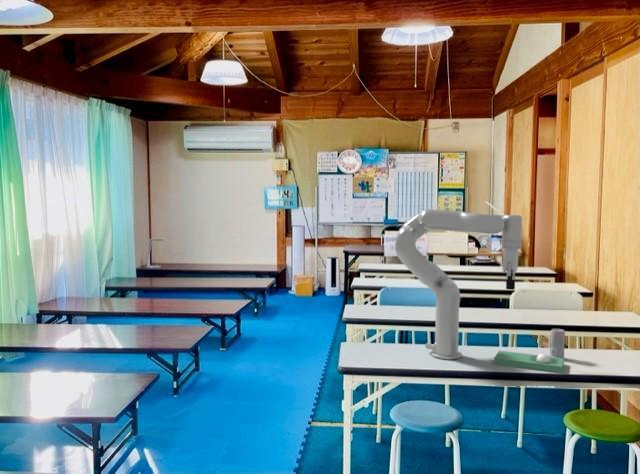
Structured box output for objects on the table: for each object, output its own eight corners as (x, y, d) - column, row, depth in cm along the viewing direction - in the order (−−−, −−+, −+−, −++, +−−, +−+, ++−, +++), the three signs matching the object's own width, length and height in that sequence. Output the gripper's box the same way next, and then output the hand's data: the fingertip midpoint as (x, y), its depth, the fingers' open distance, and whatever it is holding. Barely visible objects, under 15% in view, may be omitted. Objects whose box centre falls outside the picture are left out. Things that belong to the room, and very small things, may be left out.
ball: (552, 367, 214) (540, 370, 217) (552, 359, 218) (540, 362, 221) (546, 356, 213) (534, 360, 216) (546, 349, 217) (534, 353, 220)
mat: (494, 364, 220) (494, 357, 220) (498, 356, 231) (499, 350, 231) (561, 373, 209) (562, 366, 209) (563, 364, 220) (563, 358, 220)
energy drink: (560, 356, 231) (561, 328, 230) (566, 360, 226) (567, 331, 225) (547, 356, 231) (548, 328, 230) (553, 360, 225) (554, 331, 225)
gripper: (504, 243, 233) (503, 285, 234) (499, 246, 220) (498, 291, 221) (523, 243, 230) (522, 287, 231) (518, 246, 216) (517, 292, 218)
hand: (510, 289), depth 226 cm, fingers closed
